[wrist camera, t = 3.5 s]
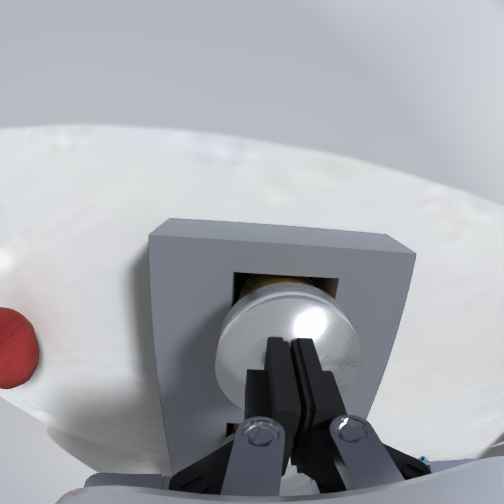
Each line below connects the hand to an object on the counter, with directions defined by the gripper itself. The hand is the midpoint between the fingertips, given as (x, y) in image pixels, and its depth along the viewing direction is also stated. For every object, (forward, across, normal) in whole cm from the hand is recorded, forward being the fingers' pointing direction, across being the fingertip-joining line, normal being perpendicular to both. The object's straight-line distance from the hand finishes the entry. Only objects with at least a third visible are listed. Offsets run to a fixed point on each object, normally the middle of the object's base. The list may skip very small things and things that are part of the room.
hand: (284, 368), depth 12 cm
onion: (+8, +19, +5) cm, 21 cm away
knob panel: (+8, 0, +10) cm, 13 cm away
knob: (+6, 0, 0) cm, 6 cm away
